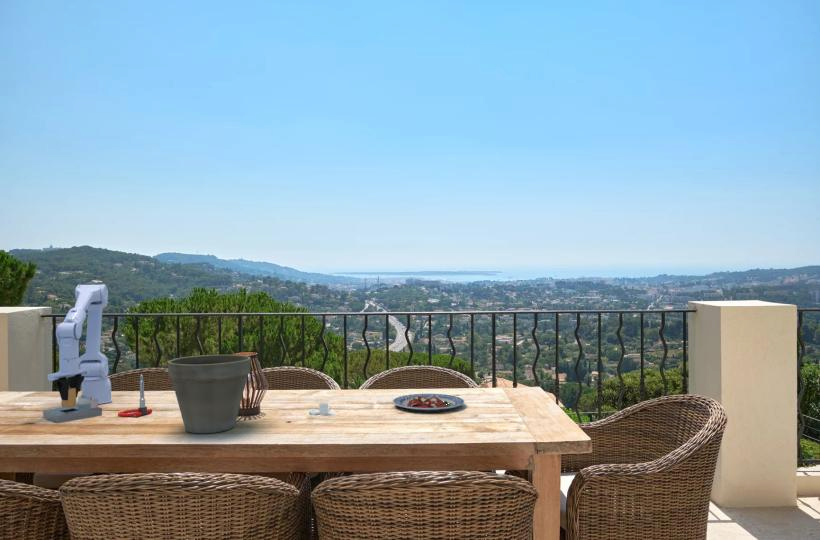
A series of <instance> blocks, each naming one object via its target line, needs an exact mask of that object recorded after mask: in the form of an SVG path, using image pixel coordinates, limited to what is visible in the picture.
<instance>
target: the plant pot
mask: <svg viewBox="0 0 820 540" xmlns="http://www.w3.org/2000/svg"><path fill="white" fill-rule="evenodd" d="M251 364H252V358H251V357H250V356H247V355H242V354H241V355H240V354H207V355H206V354H205V355H204V354H203V355H193V356H190V355H189V356H183V357H178V358H177V357H176V358H173V359H170V360H169V361H167V372H168V373H167V375H168V378H169V379H171V381H172V385H173V389H174V392H175V396H176V397H175V398H176V400H177V404H178V407H179V411H180V416H181V419H182V422H183V426H184V428H185V430H186V432H188V433H191V434H215V433H221V432H225V431H226V432H227V431H230V430H231V429H233V428H234V427H235V425H236V422H237V418H238V415H239V411H240V407H241V403H242V399H243V396H244V391H245V388H246V383H247V379H248V375H249V374H250V373H251V369H252V366H251Z"/></svg>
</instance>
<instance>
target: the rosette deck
mask: <svg viewBox="0 0 820 540" xmlns="http://www.w3.org/2000/svg"><path fill="white" fill-rule="evenodd" d="M77 402H78V403H77V404H76V406H74V407H69V408H66V407H62V406H61V407H56V408H49V409H45V410H43V411H42V417H43V419H46V420H48V421H50V422H51V421H52V422H54V423H57V424H61V423H66V422H72V421H78V420H83V419H87V418H88V419H89V418H93V417H94V418H95V417H100V416H103V407H99V404H98V399H95V397H88V396H86V395H82V394H81V395H80V396H77Z"/></svg>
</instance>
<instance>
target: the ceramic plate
mask: <svg viewBox="0 0 820 540" xmlns="http://www.w3.org/2000/svg"><path fill="white" fill-rule="evenodd" d="M443 401H444V402H443ZM392 403H393V405H395V406H397V407H401V408H406V409H407V410H410V411H416V412H442V411H441V410H443V411H446V409H447V410H450V409H454V408H457V407H461V406H462V405H464V403H465V400H464V399H463V398H461V397H459V396H455V395H451V394H450V395H449V394H443V393H413V394H406V395H401V396H398V397H395V398H393V399H392ZM448 403H449V404H448ZM446 404H447V405H446Z"/></svg>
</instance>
